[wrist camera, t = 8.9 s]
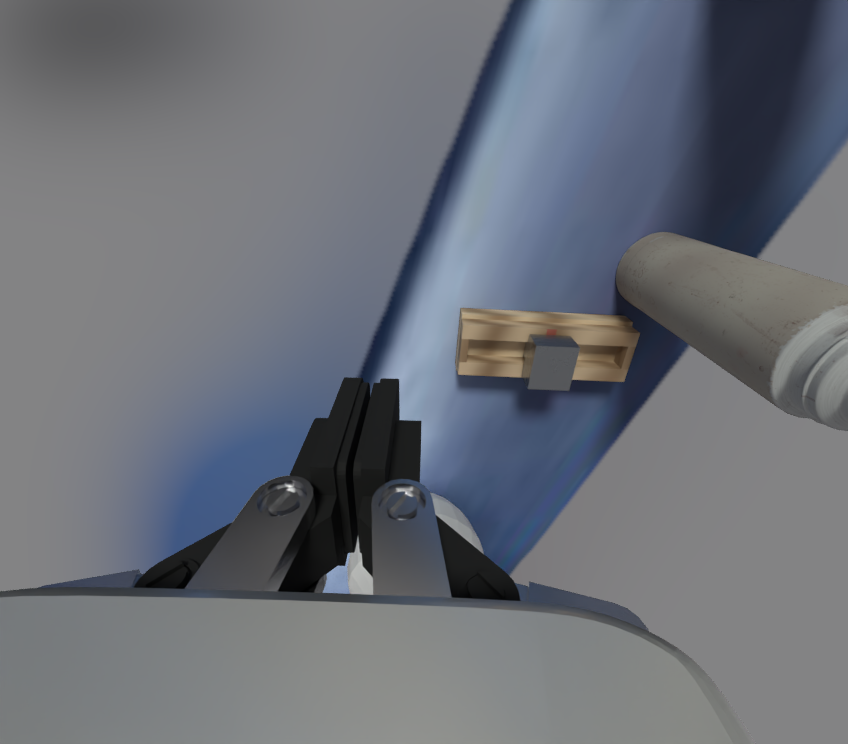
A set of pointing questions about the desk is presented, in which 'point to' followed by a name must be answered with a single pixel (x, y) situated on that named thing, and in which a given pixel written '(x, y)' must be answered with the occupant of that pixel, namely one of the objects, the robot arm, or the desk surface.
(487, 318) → the rail
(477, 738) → the robot arm
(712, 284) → the thermos bottle
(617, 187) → the desk surface
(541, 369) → the block
